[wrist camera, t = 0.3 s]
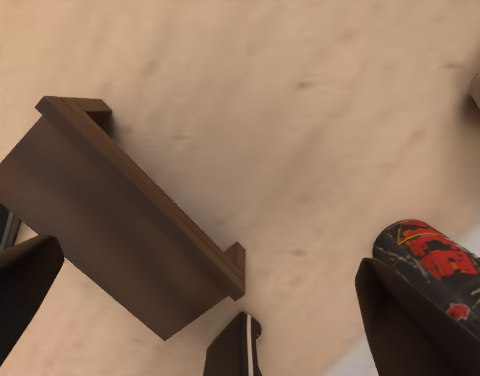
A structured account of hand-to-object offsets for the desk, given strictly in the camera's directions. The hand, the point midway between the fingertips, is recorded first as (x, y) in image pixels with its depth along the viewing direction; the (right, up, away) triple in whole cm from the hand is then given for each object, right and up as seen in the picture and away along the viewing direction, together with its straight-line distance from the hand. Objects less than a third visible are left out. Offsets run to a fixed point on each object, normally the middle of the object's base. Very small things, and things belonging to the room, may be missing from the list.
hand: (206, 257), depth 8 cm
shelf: (-8, 0, +16) cm, 18 cm away
